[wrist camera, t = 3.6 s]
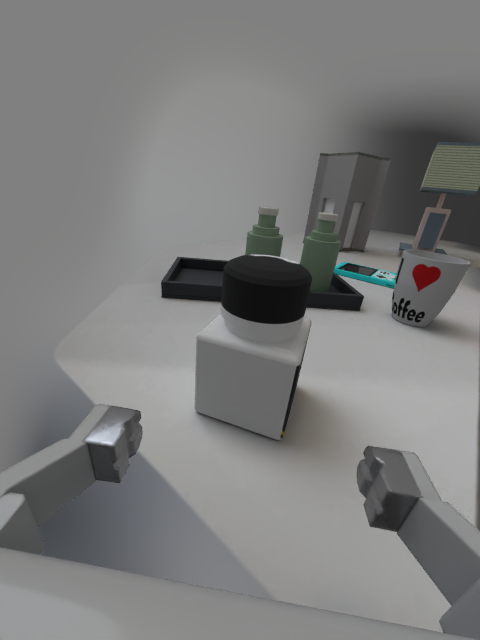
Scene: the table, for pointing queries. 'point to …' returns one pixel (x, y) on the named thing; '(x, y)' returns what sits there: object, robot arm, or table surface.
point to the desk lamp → (446, 189)
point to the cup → (425, 285)
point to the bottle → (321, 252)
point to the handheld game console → (366, 274)
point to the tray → (207, 279)
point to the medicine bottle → (254, 344)
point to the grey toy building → (348, 195)
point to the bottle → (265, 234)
